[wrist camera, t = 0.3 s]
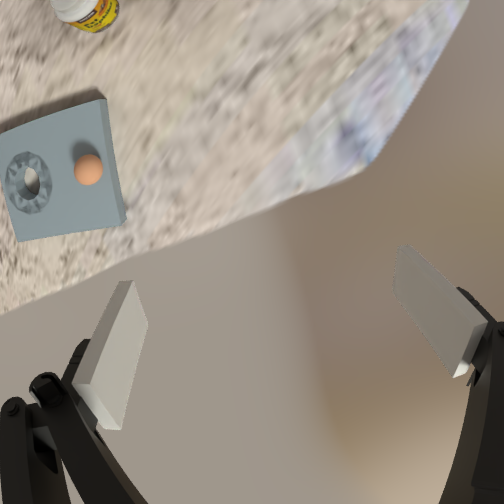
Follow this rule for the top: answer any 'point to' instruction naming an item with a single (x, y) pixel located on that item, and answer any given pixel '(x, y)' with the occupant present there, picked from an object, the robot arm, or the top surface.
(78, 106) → the board
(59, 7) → the supplement bottle
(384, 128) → the top surface
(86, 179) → the ball
